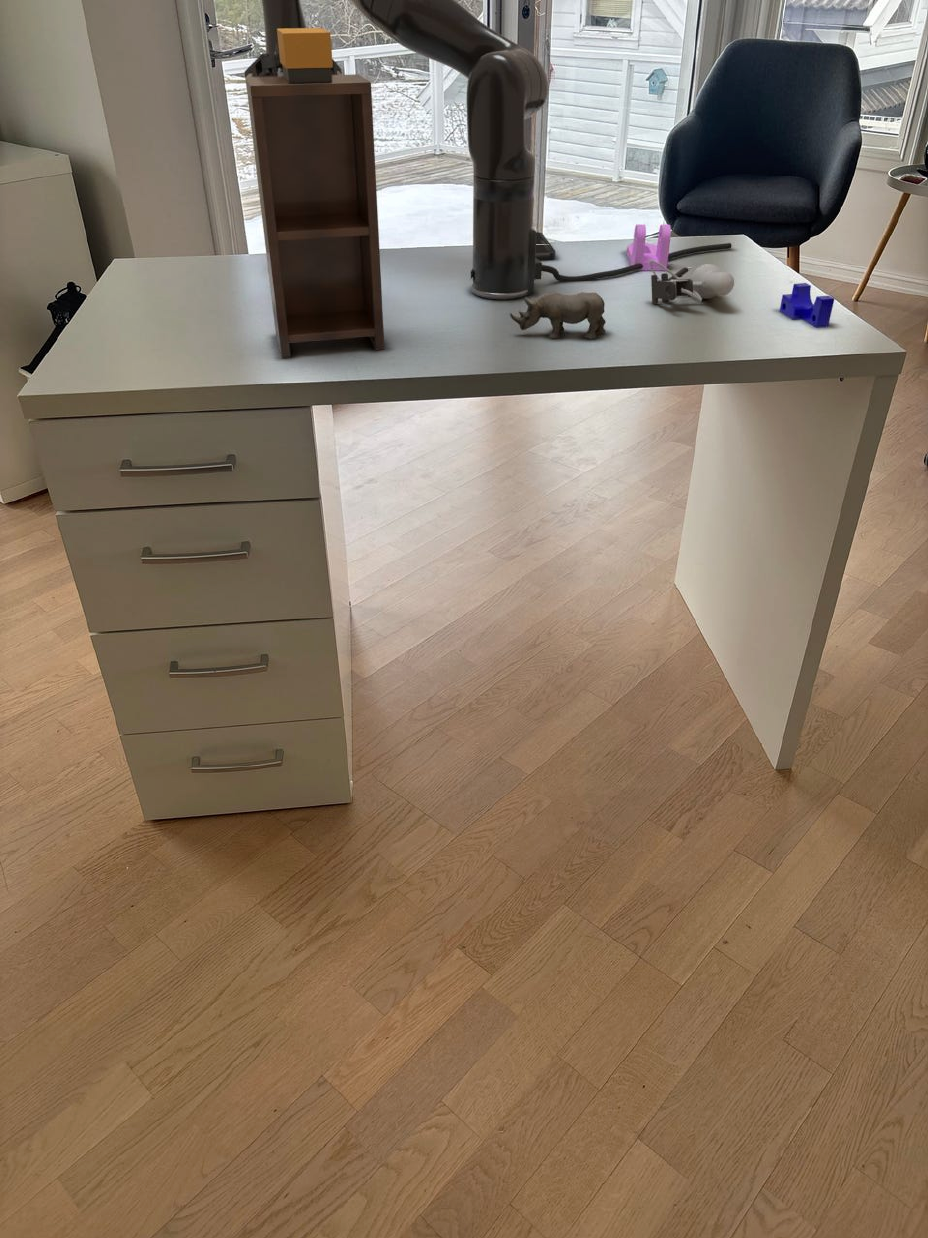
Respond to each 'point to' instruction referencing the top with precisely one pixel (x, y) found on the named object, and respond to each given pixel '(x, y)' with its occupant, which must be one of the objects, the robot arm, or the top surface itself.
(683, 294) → the clip-on lamp
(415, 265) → the top surface
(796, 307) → the cable holder
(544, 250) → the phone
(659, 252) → the bracket
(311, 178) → the shelf
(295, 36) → the brush
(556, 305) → the rhino figurine
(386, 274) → the top surface
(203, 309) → the top surface
